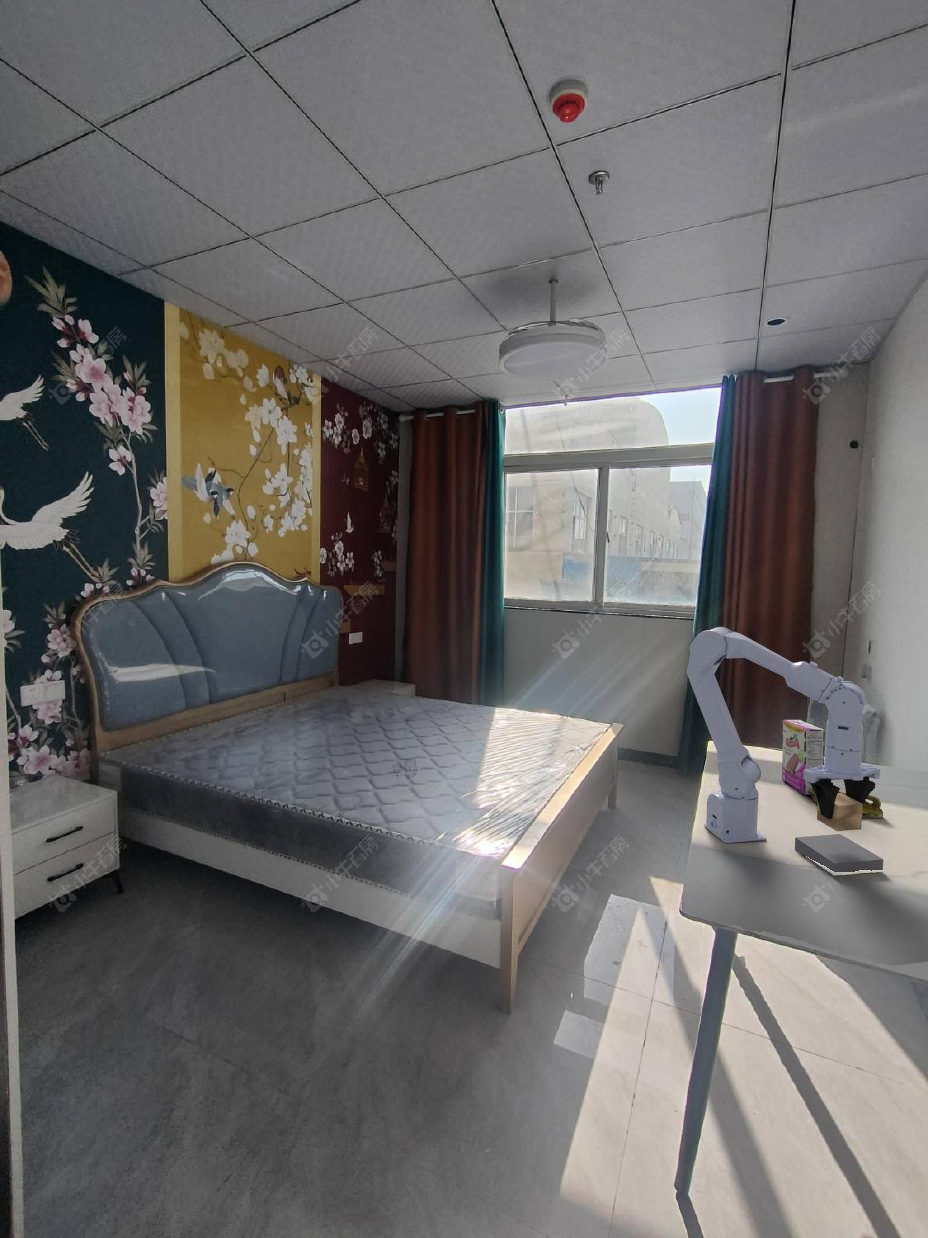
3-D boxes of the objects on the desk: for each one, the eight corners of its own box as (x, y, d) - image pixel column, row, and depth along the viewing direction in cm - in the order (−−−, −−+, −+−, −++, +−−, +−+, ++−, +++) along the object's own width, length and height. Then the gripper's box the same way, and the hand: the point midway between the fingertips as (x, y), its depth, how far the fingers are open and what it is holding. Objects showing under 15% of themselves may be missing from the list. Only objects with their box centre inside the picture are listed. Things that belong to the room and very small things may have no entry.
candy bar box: (780, 780, 147) (781, 719, 147) (799, 781, 147) (800, 719, 147) (803, 795, 136) (805, 729, 136) (825, 795, 136) (826, 729, 136)
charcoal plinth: (834, 876, 102) (834, 863, 101) (794, 849, 112) (795, 837, 111) (882, 872, 103) (883, 859, 103) (839, 845, 113) (840, 834, 113)
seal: (801, 805, 133) (878, 828, 123) (802, 788, 132) (880, 809, 121) (813, 788, 139) (887, 808, 129) (814, 771, 138) (888, 790, 128)
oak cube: (837, 831, 104) (838, 805, 104) (816, 819, 109) (818, 794, 109) (861, 829, 105) (862, 803, 104) (840, 817, 110) (841, 793, 109)
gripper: (825, 755, 100) (821, 828, 102) (896, 751, 102) (891, 822, 104) (796, 743, 107) (793, 811, 109) (863, 740, 109) (859, 806, 111)
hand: (839, 815), depth 107 cm, fingers closed on oak cube, 5 cm apart
